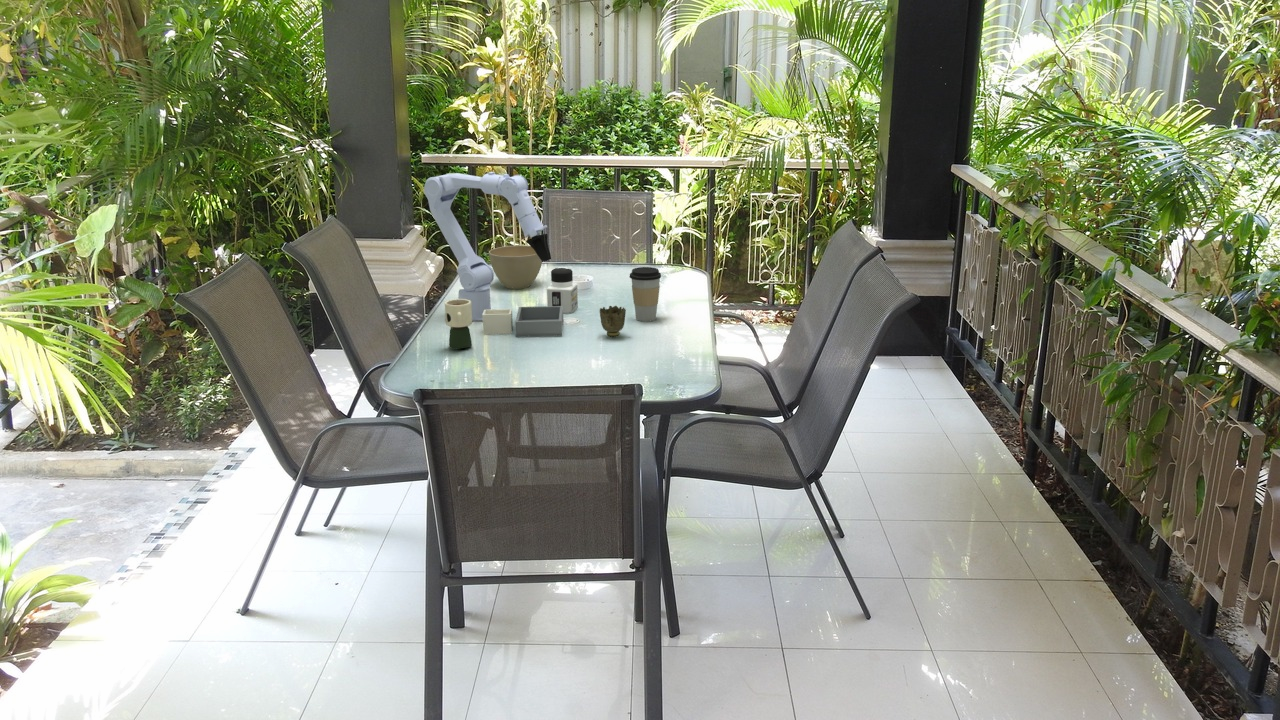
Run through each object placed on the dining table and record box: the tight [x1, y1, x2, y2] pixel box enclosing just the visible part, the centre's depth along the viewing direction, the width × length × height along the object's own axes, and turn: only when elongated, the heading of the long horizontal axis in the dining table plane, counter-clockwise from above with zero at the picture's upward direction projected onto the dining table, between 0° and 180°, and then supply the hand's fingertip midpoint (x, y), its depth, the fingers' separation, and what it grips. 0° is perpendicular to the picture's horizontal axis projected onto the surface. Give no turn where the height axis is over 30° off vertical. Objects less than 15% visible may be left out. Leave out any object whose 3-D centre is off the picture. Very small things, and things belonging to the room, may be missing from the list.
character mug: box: [444, 298, 473, 350], centre depth 292 cm, size 11×7×13 cm, turn 13°
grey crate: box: [514, 305, 564, 338], centre depth 310 cm, size 13×16×4 cm
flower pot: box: [488, 245, 543, 290], centre depth 357 cm, size 18×18×12 cm
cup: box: [599, 305, 627, 338], centre depth 301 cm, size 8×7×8 cm
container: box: [546, 267, 579, 314], centre depth 328 cm, size 8×8×13 cm
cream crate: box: [482, 308, 514, 336], centre depth 307 cm, size 8×5×6 cm
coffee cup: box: [629, 266, 662, 323], centre depth 317 cm, size 9×9×15 cm
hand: (546, 260), depth 305 cm, fingers open, 7 cm apart
